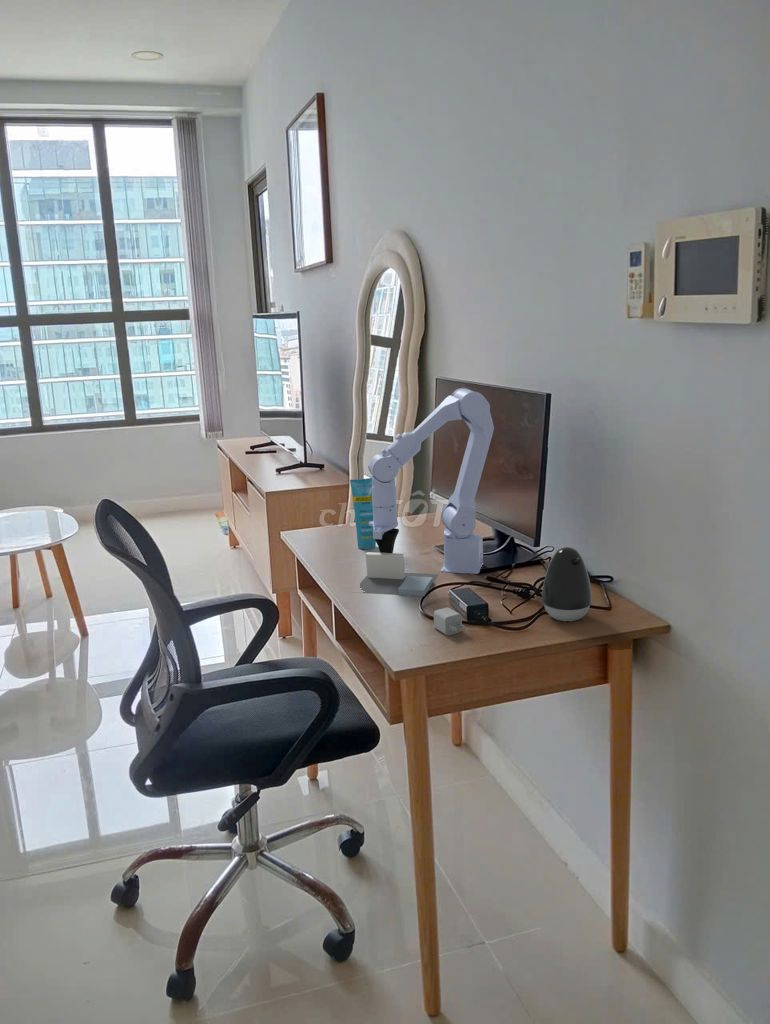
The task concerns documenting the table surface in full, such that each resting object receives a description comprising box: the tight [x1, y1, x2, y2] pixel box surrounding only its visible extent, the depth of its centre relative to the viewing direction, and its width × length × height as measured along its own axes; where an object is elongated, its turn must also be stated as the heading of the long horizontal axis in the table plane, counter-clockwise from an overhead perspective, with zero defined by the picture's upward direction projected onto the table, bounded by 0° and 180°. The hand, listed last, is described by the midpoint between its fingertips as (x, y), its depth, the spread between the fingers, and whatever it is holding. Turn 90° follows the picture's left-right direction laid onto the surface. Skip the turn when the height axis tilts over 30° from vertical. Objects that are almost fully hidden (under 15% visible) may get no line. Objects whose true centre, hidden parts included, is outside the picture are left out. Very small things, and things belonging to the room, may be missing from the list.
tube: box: [349, 477, 377, 550], centre depth 228 cm, size 7×5×19 cm, turn 103°
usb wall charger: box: [433, 606, 466, 636], centre depth 172 cm, size 4×7×4 cm, turn 28°
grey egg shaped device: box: [541, 546, 593, 622], centre depth 175 cm, size 10×10×15 cm
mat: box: [359, 572, 439, 597], centre depth 201 cm, size 17×15×1 cm
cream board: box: [365, 551, 406, 579], centre depth 204 cm, size 9×1×6 cm, turn 74°
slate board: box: [397, 576, 434, 597], centre depth 196 cm, size 9×6×1 cm, turn 164°
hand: (386, 559), depth 205 cm, fingers closed
